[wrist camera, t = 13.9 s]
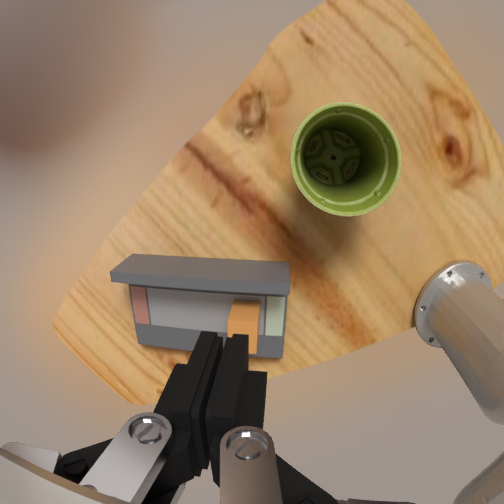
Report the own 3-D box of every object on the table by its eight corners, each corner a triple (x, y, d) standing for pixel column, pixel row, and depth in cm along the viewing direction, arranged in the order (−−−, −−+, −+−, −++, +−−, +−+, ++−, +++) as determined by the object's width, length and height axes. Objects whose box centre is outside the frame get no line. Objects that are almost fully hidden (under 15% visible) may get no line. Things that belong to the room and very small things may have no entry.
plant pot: (272, 175, 33) (269, 183, 25) (311, 98, 30) (322, 81, 22) (348, 215, 34) (368, 236, 26) (387, 141, 31) (419, 140, 23)
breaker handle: (260, 301, 35) (257, 322, 31) (259, 331, 37) (256, 354, 32) (233, 299, 36) (227, 320, 31) (233, 329, 37) (228, 351, 33)
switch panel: (288, 262, 36) (290, 283, 30) (282, 349, 40) (281, 378, 34) (132, 253, 38) (109, 271, 32) (143, 335, 41) (126, 360, 36)
